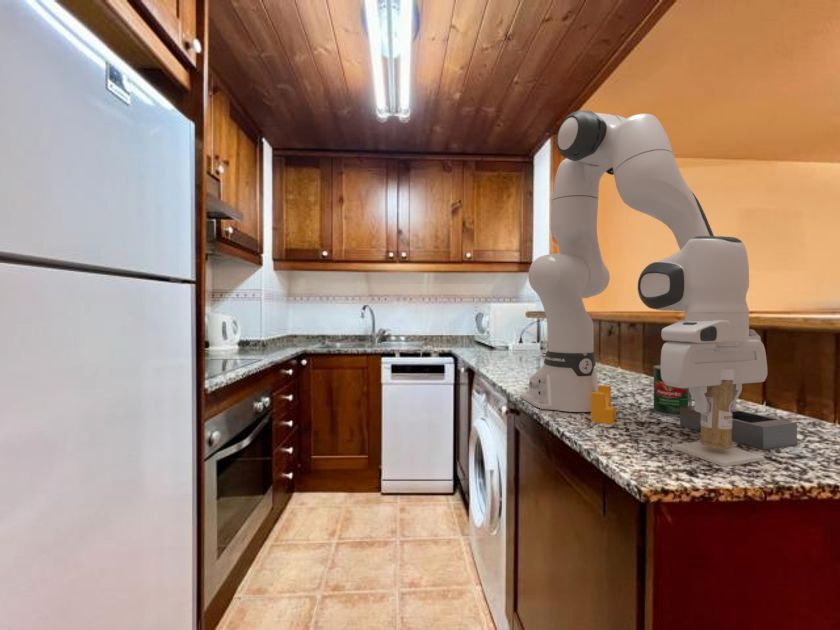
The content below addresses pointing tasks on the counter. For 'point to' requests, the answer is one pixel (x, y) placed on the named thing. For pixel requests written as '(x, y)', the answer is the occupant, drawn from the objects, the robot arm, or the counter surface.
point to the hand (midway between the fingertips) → (715, 410)
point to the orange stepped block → (602, 405)
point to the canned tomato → (669, 396)
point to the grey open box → (749, 428)
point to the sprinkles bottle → (718, 414)
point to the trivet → (718, 454)
